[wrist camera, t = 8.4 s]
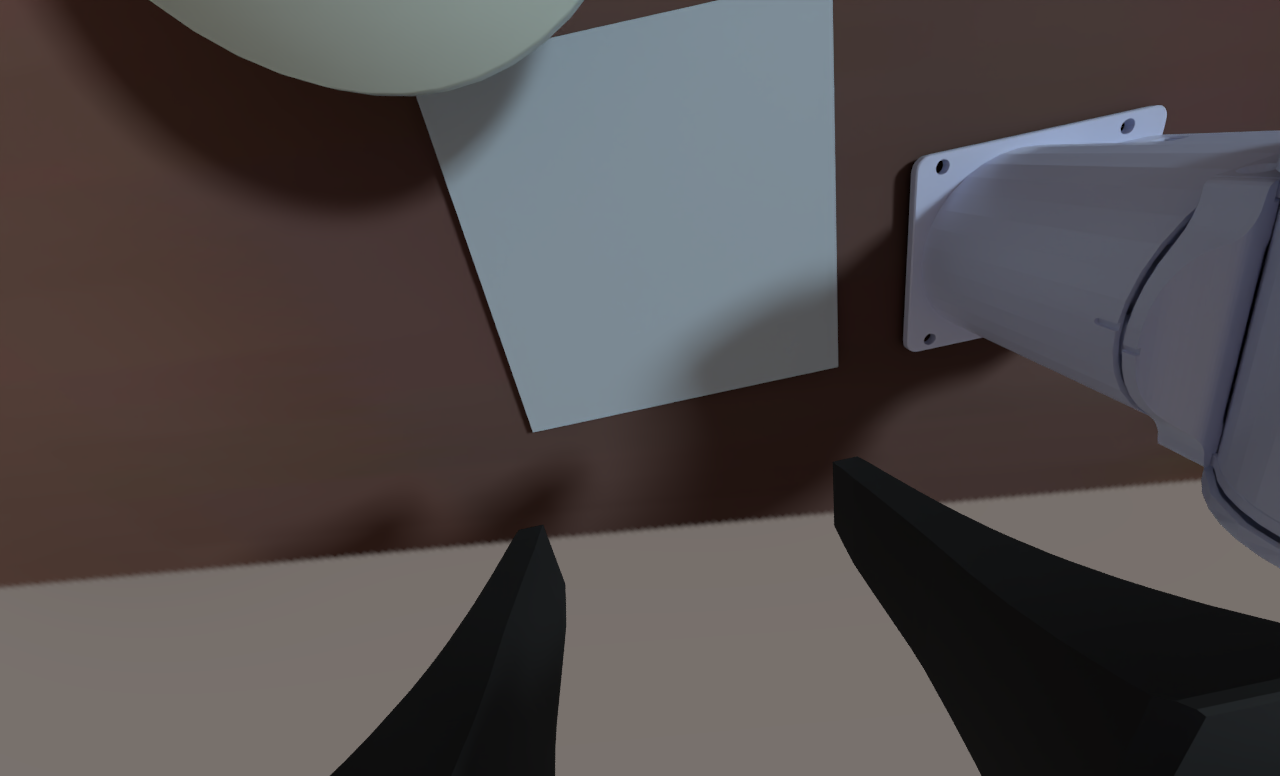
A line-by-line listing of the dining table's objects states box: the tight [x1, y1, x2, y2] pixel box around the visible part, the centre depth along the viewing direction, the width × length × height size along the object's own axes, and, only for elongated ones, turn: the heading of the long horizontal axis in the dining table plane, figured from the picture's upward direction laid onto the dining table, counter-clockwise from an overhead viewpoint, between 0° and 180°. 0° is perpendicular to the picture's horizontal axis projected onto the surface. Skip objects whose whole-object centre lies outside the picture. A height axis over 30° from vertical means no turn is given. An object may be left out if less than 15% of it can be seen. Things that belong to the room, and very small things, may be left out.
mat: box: [416, 0, 838, 432], centre depth 19 cm, size 14×14×1 cm
